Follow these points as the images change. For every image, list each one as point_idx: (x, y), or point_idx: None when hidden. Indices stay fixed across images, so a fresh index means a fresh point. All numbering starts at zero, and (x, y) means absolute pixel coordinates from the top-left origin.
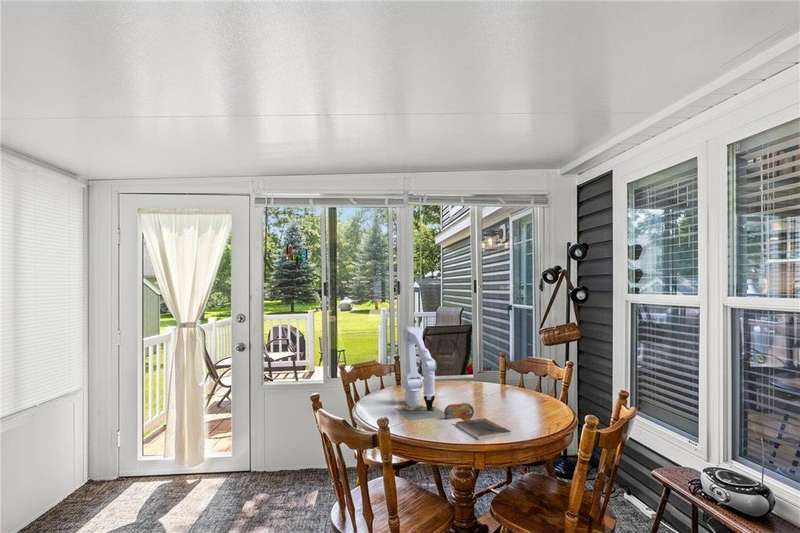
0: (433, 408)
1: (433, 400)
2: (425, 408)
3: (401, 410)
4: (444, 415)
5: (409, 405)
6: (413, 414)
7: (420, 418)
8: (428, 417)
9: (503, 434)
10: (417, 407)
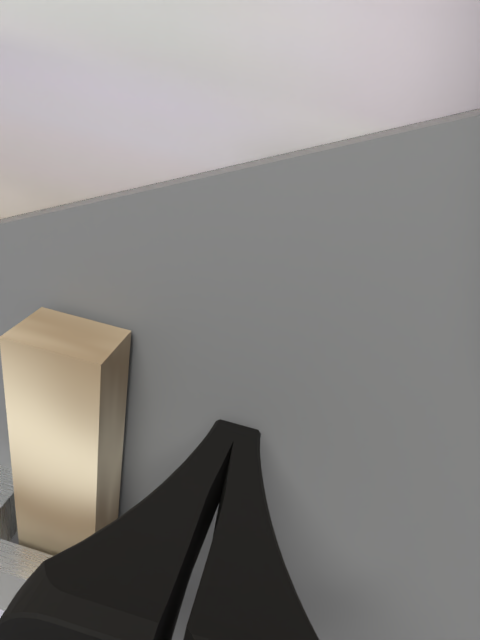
0: (114, 358)
1: (308, 623)
2: (111, 458)
3: None
4: (445, 225)
5: None
6: None
7: (475, 580)
8: (467, 491)
9: None
10: None
